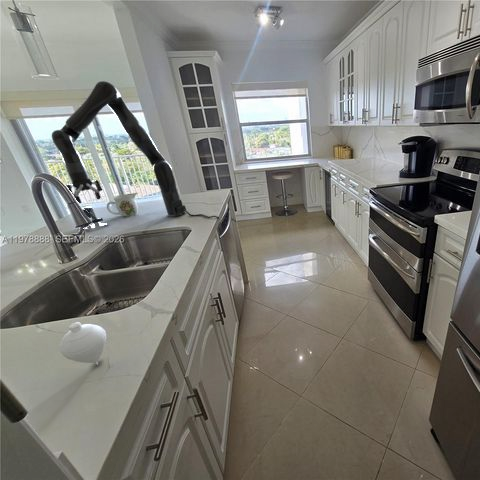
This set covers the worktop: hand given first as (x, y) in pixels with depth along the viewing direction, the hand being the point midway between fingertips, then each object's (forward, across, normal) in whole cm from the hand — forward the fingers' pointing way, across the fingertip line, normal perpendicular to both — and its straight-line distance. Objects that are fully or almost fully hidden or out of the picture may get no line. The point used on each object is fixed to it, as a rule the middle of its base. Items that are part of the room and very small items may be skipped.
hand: (89, 201), depth 141 cm
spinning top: (+16, -47, -112) cm, 122 cm away
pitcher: (+16, +19, +8) cm, 26 cm away
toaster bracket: (+16, -1, +7) cm, 18 cm away
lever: (+9, -1, +3) cm, 10 cm away
